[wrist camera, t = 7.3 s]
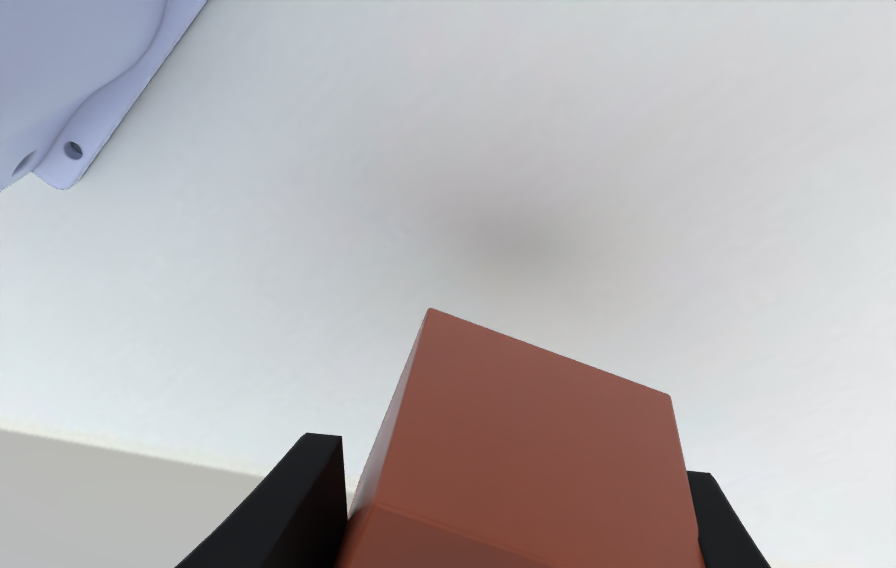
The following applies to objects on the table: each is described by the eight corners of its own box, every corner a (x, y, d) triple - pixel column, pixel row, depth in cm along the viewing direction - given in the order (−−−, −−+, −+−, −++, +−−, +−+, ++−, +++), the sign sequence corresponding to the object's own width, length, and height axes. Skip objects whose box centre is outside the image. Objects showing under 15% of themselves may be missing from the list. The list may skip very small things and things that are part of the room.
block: (566, 553, 15) (570, 791, 11) (358, 481, 15) (289, 699, 11) (672, 394, 13) (721, 623, 9) (428, 305, 12) (371, 502, 9)
